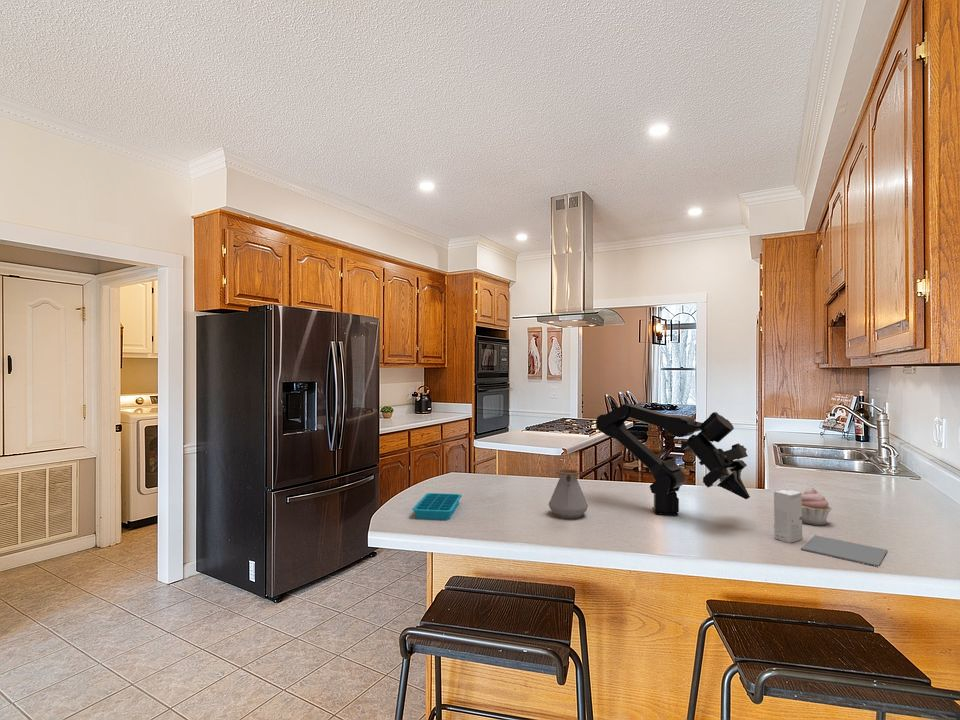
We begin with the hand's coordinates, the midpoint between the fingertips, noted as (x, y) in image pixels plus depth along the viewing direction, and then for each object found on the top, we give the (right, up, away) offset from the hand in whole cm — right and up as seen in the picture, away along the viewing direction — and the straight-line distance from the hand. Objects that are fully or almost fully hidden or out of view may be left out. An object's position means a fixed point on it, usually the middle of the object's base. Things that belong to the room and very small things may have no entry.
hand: (748, 498), depth 140 cm
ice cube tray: (-86, -9, +17) cm, 88 cm away
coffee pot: (-47, -9, +9) cm, 49 cm away
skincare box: (+7, -9, -7) cm, 13 cm away
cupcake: (+22, -9, +8) cm, 25 cm away
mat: (+15, -9, -15) cm, 23 cm away
